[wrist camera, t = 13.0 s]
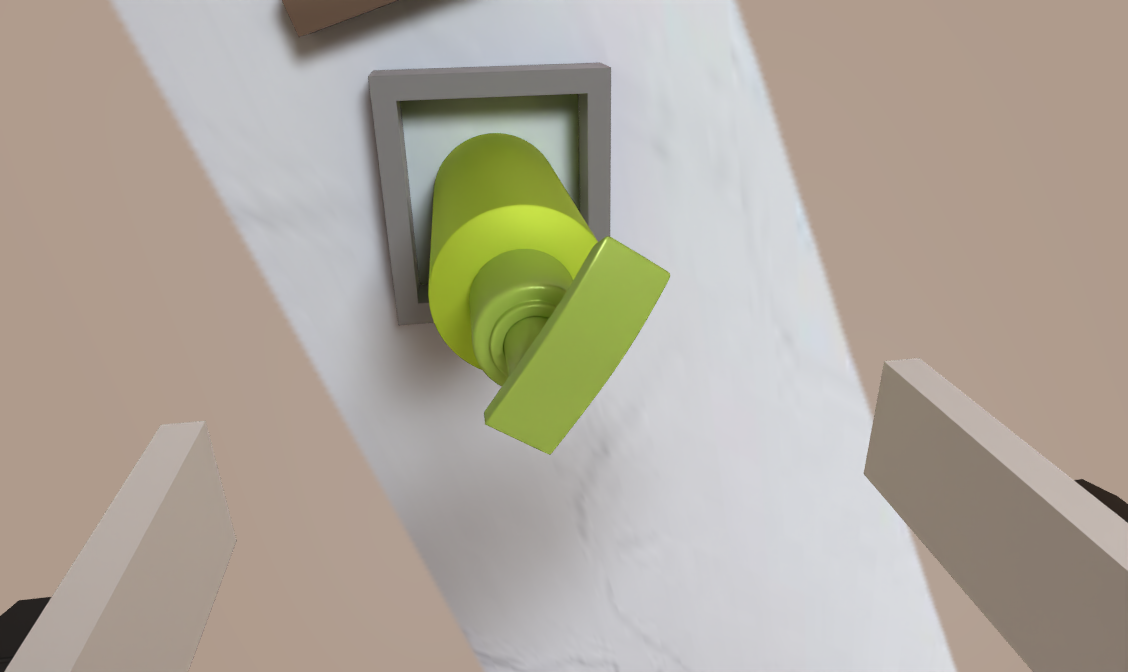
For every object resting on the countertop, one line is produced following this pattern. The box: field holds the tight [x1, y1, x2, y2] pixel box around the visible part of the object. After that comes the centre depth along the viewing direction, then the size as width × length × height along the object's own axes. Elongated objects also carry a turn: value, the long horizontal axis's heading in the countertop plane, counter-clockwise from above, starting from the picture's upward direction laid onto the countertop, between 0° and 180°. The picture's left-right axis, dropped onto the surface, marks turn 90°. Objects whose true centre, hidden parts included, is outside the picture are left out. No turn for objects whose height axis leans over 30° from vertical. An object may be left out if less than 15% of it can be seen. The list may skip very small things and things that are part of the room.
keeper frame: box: [368, 63, 611, 325], centre depth 35 cm, size 11×10×2 cm
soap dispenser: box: [428, 133, 670, 455], centre depth 27 cm, size 6×7×20 cm
